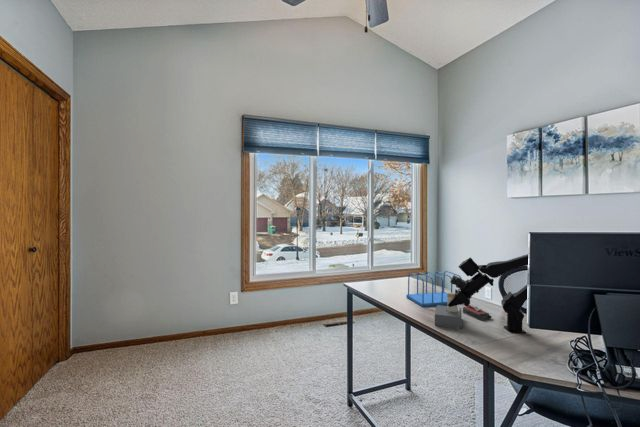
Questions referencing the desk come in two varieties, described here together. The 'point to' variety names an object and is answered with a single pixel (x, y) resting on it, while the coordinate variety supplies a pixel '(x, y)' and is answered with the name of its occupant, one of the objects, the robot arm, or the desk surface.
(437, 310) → the block
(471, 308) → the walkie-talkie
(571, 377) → the desk surface
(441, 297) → the file sorter
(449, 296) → the strip
